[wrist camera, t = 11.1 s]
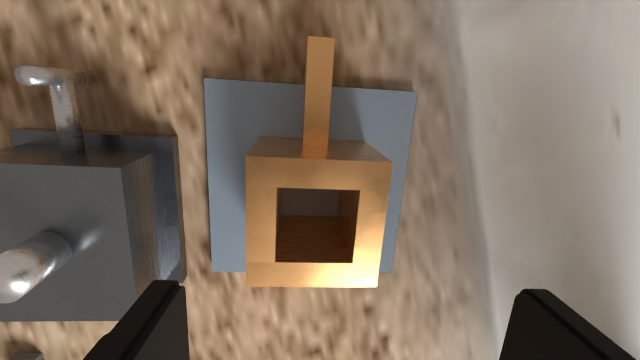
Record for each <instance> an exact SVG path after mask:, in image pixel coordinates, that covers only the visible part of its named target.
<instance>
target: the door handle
mask: <svg viewBox="0 0 640 360" xmlns="http://www.w3.org/2000/svg"><path fill="white" fill-rule="evenodd" d="M9 360H44V359H43V354H42V353H16V354H15V355H14V356H12V357H11V358H10V359H9Z"/></svg>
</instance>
